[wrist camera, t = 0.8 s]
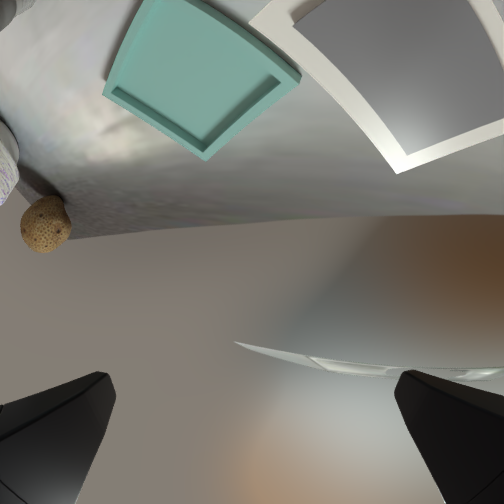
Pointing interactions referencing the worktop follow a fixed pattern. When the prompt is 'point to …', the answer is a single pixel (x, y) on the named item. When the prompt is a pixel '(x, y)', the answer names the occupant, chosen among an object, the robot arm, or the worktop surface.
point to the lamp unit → (401, 68)
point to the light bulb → (12, 10)
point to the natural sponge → (45, 224)
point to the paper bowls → (7, 162)
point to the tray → (195, 74)
